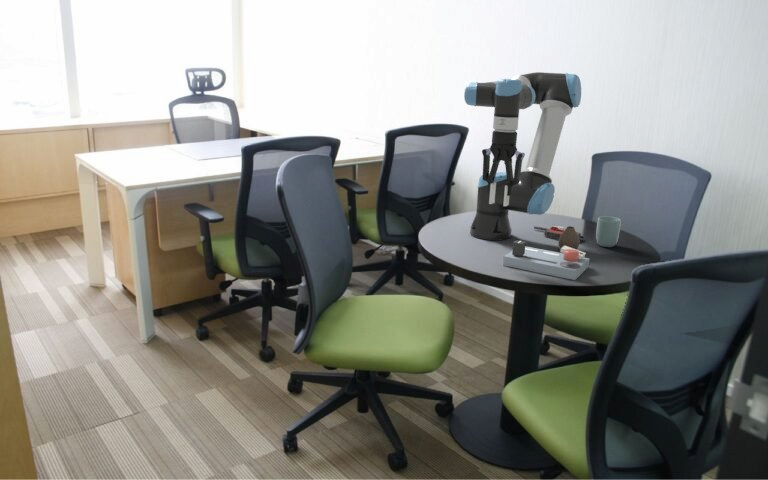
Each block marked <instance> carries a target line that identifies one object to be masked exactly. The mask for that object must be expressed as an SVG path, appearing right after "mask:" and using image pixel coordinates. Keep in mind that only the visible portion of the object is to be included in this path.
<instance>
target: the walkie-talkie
mask: <svg viewBox="0 0 768 480" xmlns="http://www.w3.org/2000/svg"><path fill="white" fill-rule="evenodd" d="M566 228H567V227H565V226H561V225H560V226H558V225H553V226H551V227H550V228H546V227H541V226H537V225H534V227H533V229H534V230H539V231H543V232H544V237H545V238H547V239H551V240H556V241H559V237H560V235H561V234H562V232H563V231H564V230H565V229H566ZM576 232H577V231H576ZM577 234H578V236H579V240H581V239H582V240H583V239H584V236H583V235H581V234H582V233H581V232H577Z"/></svg>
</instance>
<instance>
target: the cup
mask: <svg viewBox="0 0 768 480" xmlns="http://www.w3.org/2000/svg"><path fill="white" fill-rule="evenodd" d="M621 224H622V220H621V219H620V218H619V217H615V216H609V215H601V216H598V218H597V224H596V233H595V238H596V243H597V244H598V245H599V246H600V247H605V248H613V247H614V246H616V245H617V243H618V240H619V235H620V231H621Z"/></svg>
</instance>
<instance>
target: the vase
mask: <svg viewBox="0 0 768 480" xmlns="http://www.w3.org/2000/svg"><path fill="white" fill-rule="evenodd" d="M565 228H566V229H565V230H564V231H563V232H562V234H561V235H560V237H559V240H558V248H559V250H561V248H562V247H563V246H568V247H571V248H573V249H576V250H579V247H580V240H581V239H580V240H579V236H578V234H577V231H576V229H575V227H574V226H571V225H570V226H566V227H565Z"/></svg>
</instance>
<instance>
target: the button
mask: <svg viewBox="0 0 768 480" xmlns="http://www.w3.org/2000/svg"><path fill="white" fill-rule="evenodd" d="M577 250H578V249H577ZM577 250H573V249H566V250H564V253H563V254H564V257H563V259H564V260H566V261H570V262H576V261H578V257H579V251H580V250H579V251H577Z"/></svg>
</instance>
